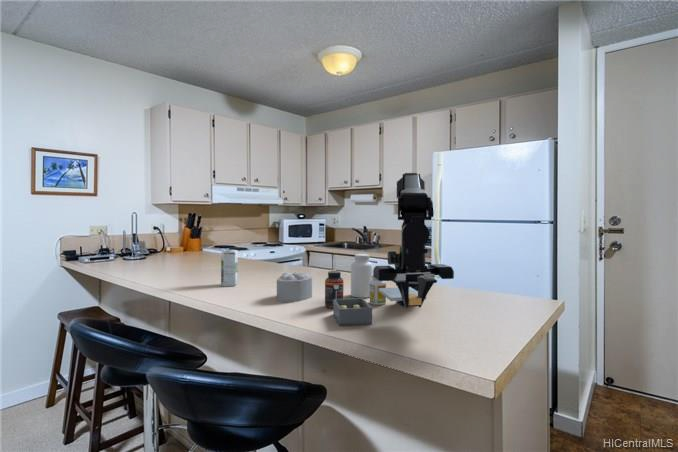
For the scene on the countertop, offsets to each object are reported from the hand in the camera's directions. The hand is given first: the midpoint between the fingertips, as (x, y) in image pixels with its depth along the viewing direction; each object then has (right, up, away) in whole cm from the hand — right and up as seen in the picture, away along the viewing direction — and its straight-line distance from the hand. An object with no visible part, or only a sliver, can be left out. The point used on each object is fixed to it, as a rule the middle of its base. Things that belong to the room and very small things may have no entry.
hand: (412, 307), depth 87 cm
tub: (-14, -7, +14) cm, 21 cm away
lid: (-1, +1, +6) cm, 6 cm away
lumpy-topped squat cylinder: (-34, -6, +39) cm, 52 cm away
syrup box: (-64, -5, +61) cm, 88 cm away
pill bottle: (-10, -6, +42) cm, 44 cm away
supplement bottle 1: (-20, -6, +27) cm, 34 cm away
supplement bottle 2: (-5, -6, +32) cm, 33 cm away
